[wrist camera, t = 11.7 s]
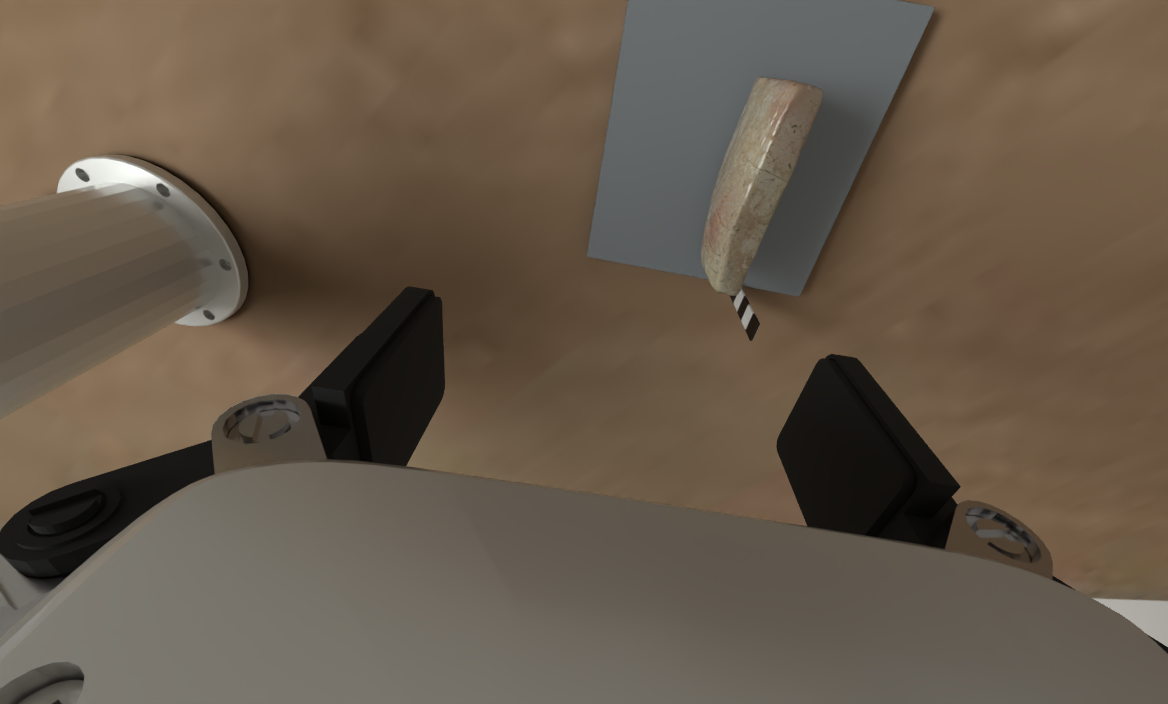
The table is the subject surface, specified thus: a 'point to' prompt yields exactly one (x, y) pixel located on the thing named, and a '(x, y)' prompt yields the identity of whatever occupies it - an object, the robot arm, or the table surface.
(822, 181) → the mat
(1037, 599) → the robot arm
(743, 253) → the cuneiform tablet
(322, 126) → the table surface
